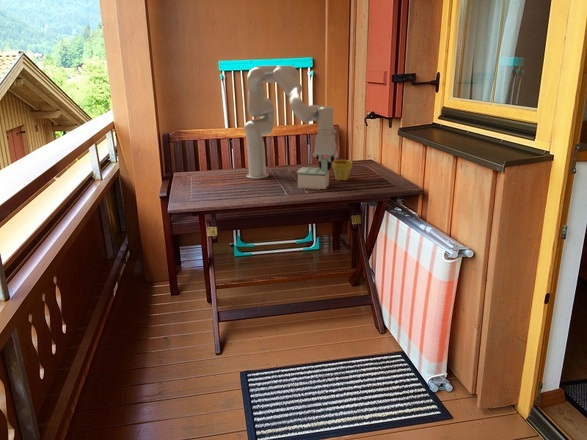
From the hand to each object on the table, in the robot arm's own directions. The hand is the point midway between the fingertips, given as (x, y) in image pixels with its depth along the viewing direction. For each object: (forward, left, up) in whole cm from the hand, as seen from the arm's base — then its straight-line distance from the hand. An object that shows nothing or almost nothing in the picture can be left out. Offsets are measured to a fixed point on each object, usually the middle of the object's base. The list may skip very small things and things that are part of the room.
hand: (325, 168), depth 230 cm
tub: (0, -6, -9) cm, 11 cm away
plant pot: (-17, +6, -10) cm, 20 cm away
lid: (0, -6, -3) cm, 6 cm away
